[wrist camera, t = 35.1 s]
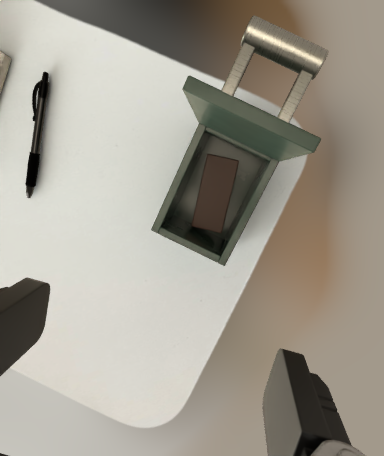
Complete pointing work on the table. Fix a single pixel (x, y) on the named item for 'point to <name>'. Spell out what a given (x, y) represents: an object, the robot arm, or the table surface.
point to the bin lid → (251, 116)
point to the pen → (37, 132)
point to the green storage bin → (189, 189)
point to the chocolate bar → (214, 193)
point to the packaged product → (3, 68)
